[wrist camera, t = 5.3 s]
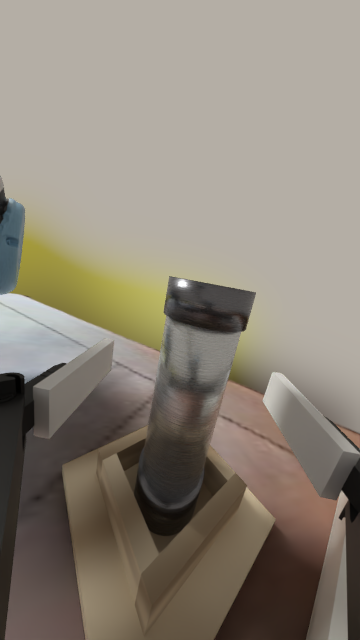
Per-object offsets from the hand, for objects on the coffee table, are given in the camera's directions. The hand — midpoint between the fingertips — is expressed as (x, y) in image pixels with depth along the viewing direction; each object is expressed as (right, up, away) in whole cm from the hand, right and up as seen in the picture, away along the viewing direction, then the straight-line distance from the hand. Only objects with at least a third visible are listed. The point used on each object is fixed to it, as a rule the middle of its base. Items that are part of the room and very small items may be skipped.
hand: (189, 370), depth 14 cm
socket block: (-2, -10, -1) cm, 10 cm away
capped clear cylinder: (-2, -9, -1) cm, 9 cm away
